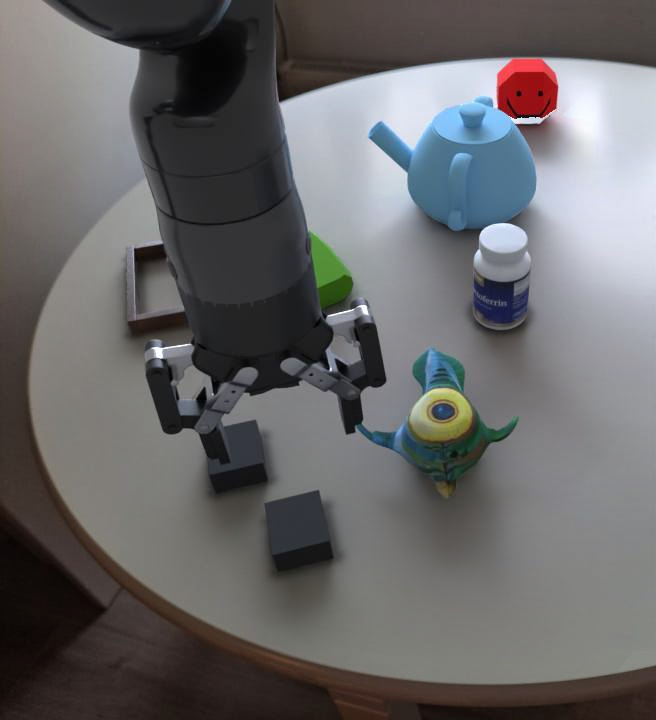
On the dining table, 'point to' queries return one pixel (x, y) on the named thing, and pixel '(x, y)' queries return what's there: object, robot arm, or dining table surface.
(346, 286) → the spray bottle
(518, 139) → the teapot
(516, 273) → the pill bottle
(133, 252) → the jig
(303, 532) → the pad
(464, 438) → the decorative fish
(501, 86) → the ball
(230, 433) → the pad
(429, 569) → the dining table surface
